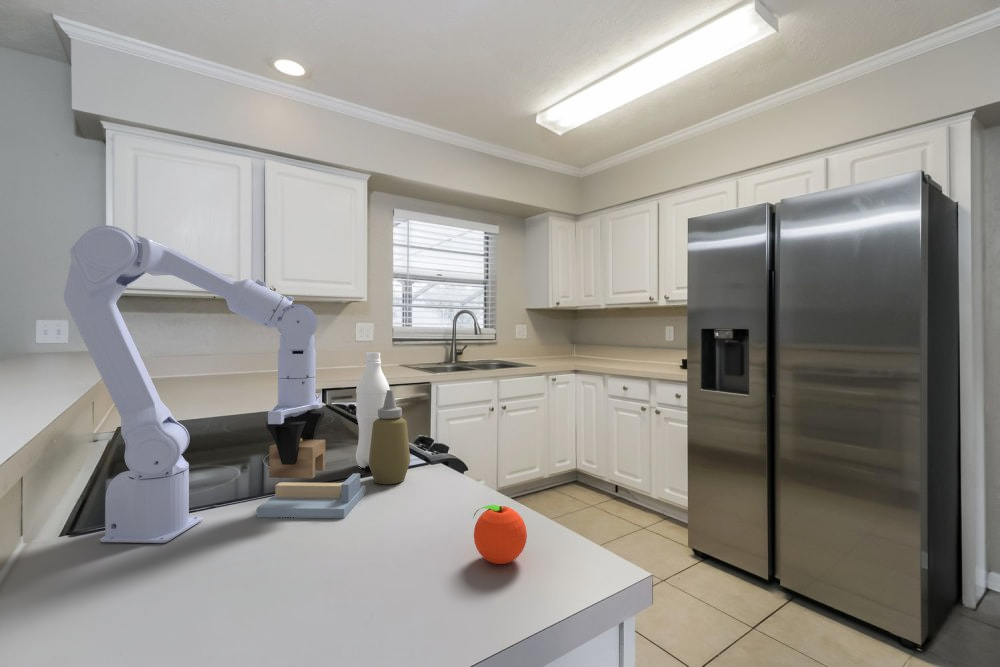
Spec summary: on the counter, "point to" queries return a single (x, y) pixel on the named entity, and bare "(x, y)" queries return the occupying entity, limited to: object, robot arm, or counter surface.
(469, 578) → the counter surface
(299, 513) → the cleat board
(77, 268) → the robot arm
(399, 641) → the counter surface
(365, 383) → the water bottle
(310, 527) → the counter surface
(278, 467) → the cabinet block
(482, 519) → the clementine
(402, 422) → the squeeze bottle
